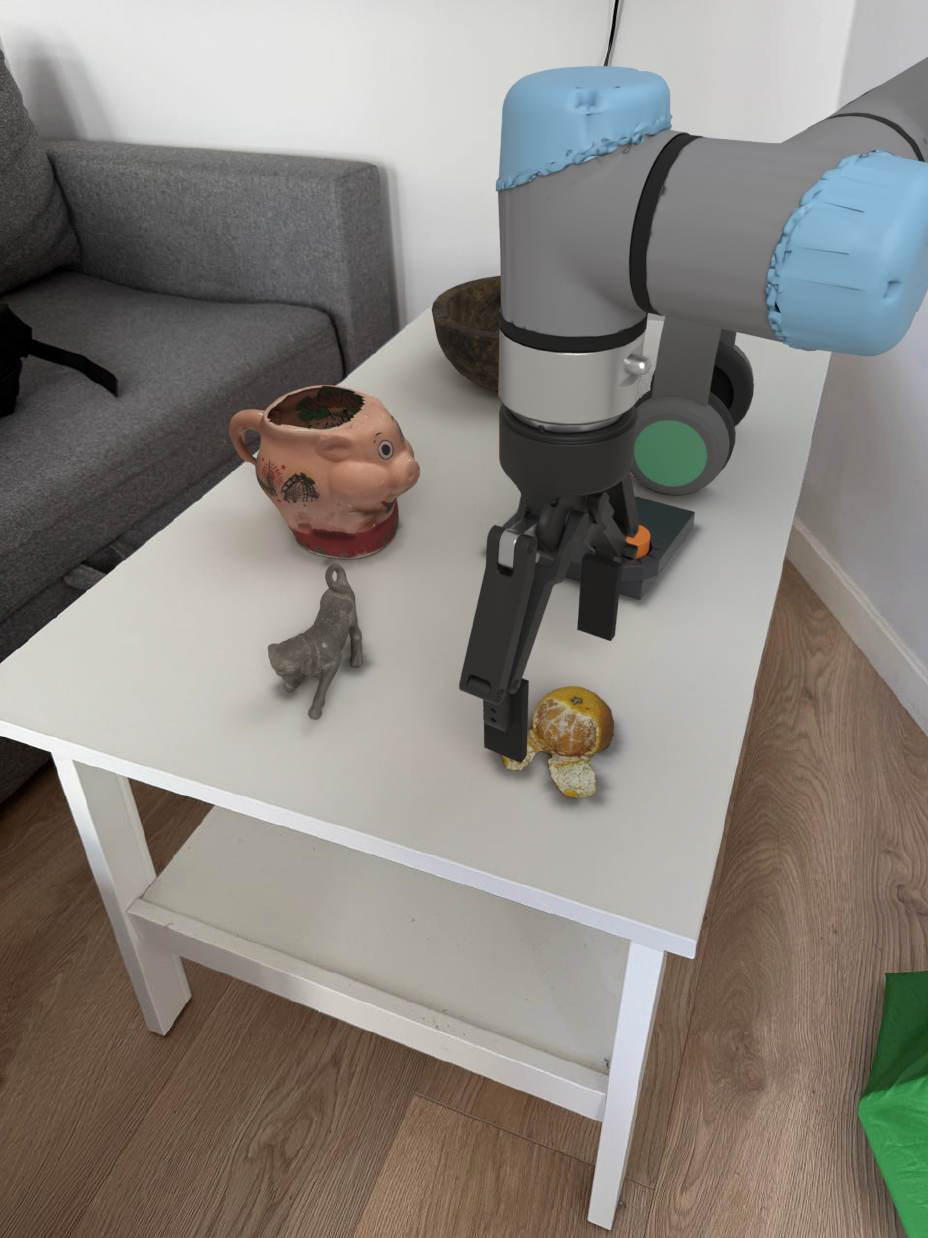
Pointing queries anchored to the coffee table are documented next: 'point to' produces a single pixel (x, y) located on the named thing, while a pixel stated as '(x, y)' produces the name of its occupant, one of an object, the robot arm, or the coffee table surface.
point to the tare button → (641, 541)
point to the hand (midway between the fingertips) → (553, 688)
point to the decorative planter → (331, 467)
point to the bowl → (471, 329)
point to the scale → (665, 539)
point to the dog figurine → (321, 641)
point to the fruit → (569, 737)
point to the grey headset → (691, 408)
